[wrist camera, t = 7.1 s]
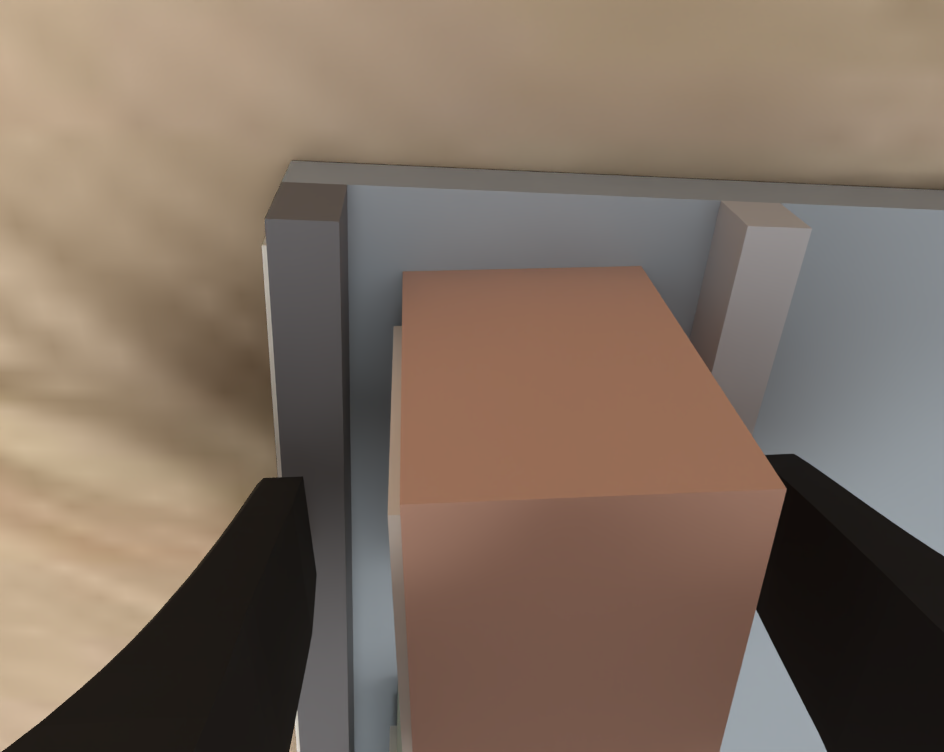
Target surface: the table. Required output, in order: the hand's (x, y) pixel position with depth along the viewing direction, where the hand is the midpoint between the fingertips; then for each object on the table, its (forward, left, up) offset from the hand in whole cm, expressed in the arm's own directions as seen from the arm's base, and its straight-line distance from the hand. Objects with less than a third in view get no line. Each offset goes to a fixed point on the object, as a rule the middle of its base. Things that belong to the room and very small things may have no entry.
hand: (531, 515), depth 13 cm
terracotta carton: (0, 0, -2) cm, 3 cm away
